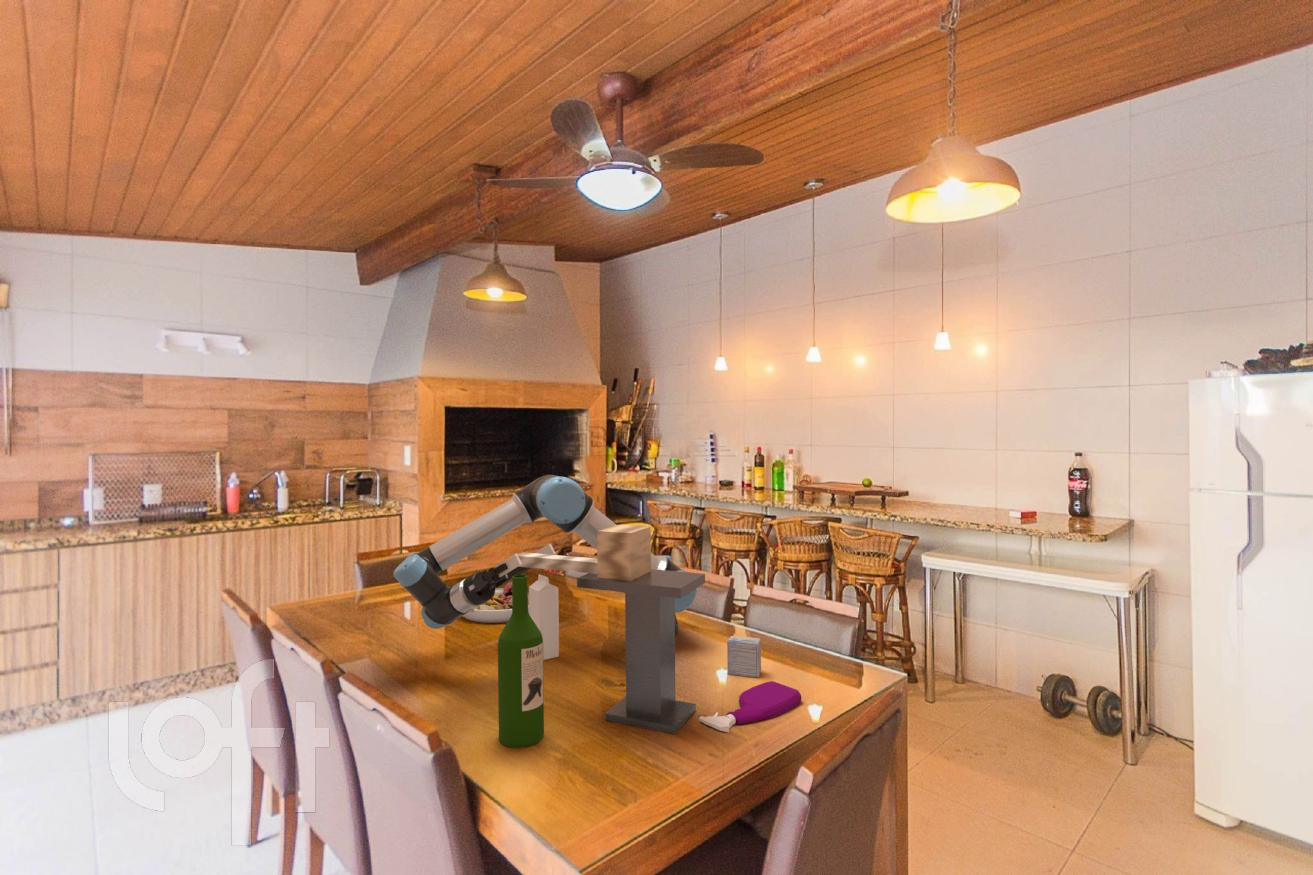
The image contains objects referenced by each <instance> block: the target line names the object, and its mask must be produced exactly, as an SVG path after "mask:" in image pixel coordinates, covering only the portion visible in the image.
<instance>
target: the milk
mask: <svg viewBox="0 0 1313 875" xmlns="http://www.w3.org/2000/svg"><path fill="white" fill-rule="evenodd" d="M537 577H538V578H537V580H535V581H534V582H533V583H531V585H530V586H528V587H529V615H530V617H531V618H532V620H533V621H534V623H535V624H536V626H537V627H538V629H539V630H540V632H541V634H542V638H543V661H546V660H549V659H555V658H558V657H560V632H559V631H560V626H559V625H560V624H559V622H560V621H559V620H560V619H559V618H560V617H559V616H560V615H559V614H560V613H559V612H560V610H559V609H560V608H559V606H560V604H559V587H558V586H555V585H554V584H552V583H550V579H549V577H548V576H546V575H543V574H540V573H538V576H537Z"/></svg>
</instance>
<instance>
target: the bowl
mask: <svg viewBox="0 0 1313 875" xmlns="http://www.w3.org/2000/svg"><path fill="white" fill-rule="evenodd" d="M527 587H528V612H529V587H530V586H529V585H527ZM511 615H512V581H508V582H507V583H505V585H504V587H503V588H502V587H501V588H499V587H498V588H495V594H494V596H493V598H492V599H490V600H489V601H487V602H485V603H484V604H482V605H480V606H478V607H476V608H475V609H474V612H473V613H470V612H468V613H466V614H465V615H463V616H462V617H463V618H464V619H466V620H469V621H471V622H476V623H483V624H484V623H486V624H499V623H501V624H503V623H507V622H508V620H509V619H510V617H511Z"/></svg>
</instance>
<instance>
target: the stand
mask: <svg viewBox="0 0 1313 875" xmlns="http://www.w3.org/2000/svg"><path fill="white" fill-rule="evenodd" d="M704 584H706V573H701V572H688V571H686V572H678V571H667V570H656V569H651V571H650V572H648V573H646V574H644V575H642V576H640V577H638V578H636V579H634V580H632V581H627V580H617V579H607V578H597V574H592V573H585V574H584V575H581V576H579V577H577V578H576V587H577V588H580V589H587V590H588V589H590V590H600V591H608V592H619V593H624V609H625V610H624V611H625V615H624V616H625V617H624V618H625V621H624V622H625V624H624V625H625V627H624V628H625V696H624V697H623V698H622V699H621V700H620V701H618V702H617V703H615V705H613V706H612V707H611V708H610V709H608V710H607V711H606V712H605V715H604V720H605V721H607V722H611V723H612V722H613V723H617V724H621V725H626V726H632V727H636V728H642V729H647V730H651V731H657V732H662V733H666V734H672V735H676V734H677V733H678V731H679V730H680V729H681V728H682V727H683V726H684V725H685V723H686V722H687V721H688V720H689V719H691V717H692V716H693V715H694V713H696V712H697V705H696V703H695V702H694V703H693V702H687V701H682V700H677V699H676V635H675V615H676V612H675V598H682V597H684V596H685V595H687V594H689V593H690V592H692V591H693V590H695V589H696V588H697V589H698V588H699V587H701V586H702V585H704ZM697 589H696V590H697Z"/></svg>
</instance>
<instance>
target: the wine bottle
mask: <svg viewBox="0 0 1313 875" xmlns="http://www.w3.org/2000/svg"><path fill="white" fill-rule="evenodd" d="M511 580H512V581H511V582H512V615H511V617H510V619H509V620H508V622H506V624H505V625H504V627H503V629H502V631H501V632H500V634H499V637H498V639H497V640H498V641H497V684H498V685H497V686H498V687H497V695H498V696H497V698H498V702H497V703H498V706H497V707H498V740H499V742H500V744H501V745H503V746H504V747H507V748H515V749H516V748H517V749H518V748H526V747H531V746H534V745H536V744H537V743H539V742H540V741H541V740H543V738H544V735H545V709H544V708H545V700H544V699H545V697H544V695H545V693H544V692H545V689H544V684H545V683H544V682H545V681H544V660H543V638H542V634H541V632H540V630H539V629H538V627H537V626H536V624H535V623H534V621H533V620H532V618H531V617H530V615H529V612H528V587H529V586H528V575H526V574H523V573H522V574H520V575H514V576H512V579H511ZM527 586H528V587H527Z"/></svg>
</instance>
